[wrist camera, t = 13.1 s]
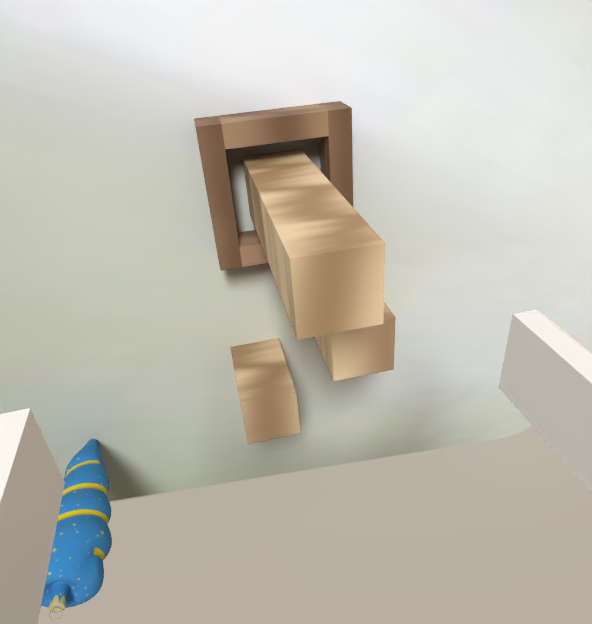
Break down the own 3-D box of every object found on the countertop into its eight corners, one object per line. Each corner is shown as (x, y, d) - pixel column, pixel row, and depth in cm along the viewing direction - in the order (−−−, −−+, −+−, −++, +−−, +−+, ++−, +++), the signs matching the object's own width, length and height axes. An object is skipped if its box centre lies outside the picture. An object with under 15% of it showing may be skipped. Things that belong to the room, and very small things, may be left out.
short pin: (237, 384, 43) (247, 444, 38) (230, 347, 41) (240, 404, 35) (283, 375, 44) (300, 433, 38) (278, 338, 42) (296, 392, 36)
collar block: (217, 255, 37) (220, 270, 35) (194, 118, 32) (195, 126, 30) (343, 235, 38) (353, 249, 36) (340, 101, 33) (351, 107, 31)
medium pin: (299, 303, 40) (333, 381, 32) (296, 258, 38) (331, 329, 30) (347, 294, 41) (393, 369, 33) (346, 249, 39) (395, 317, 30)
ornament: (118, 464, 45) (98, 641, 33) (55, 461, 43) (9, 647, 31) (126, 420, 43) (108, 593, 30) (60, 416, 41) (12, 596, 29)
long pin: (250, 214, 36) (297, 339, 22) (242, 157, 34) (289, 258, 20) (305, 206, 36) (383, 323, 23) (301, 149, 34) (384, 243, 21)
